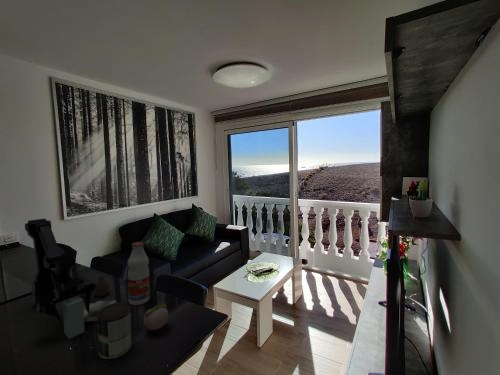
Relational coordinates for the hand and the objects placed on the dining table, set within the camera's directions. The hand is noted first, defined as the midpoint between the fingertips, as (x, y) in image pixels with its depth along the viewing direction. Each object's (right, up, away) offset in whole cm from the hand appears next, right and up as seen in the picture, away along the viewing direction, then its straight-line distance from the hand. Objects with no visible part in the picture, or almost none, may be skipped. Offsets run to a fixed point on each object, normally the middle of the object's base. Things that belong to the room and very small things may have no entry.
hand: (75, 317), depth 95 cm
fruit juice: (+13, -5, +25) cm, 29 cm away
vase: (-7, -4, +30) cm, 31 cm away
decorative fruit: (+30, -7, +4) cm, 31 cm away
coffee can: (+19, -8, -6) cm, 21 cm away
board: (-2, -6, +14) cm, 15 cm away
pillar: (-1, -7, +1) cm, 7 cm away
